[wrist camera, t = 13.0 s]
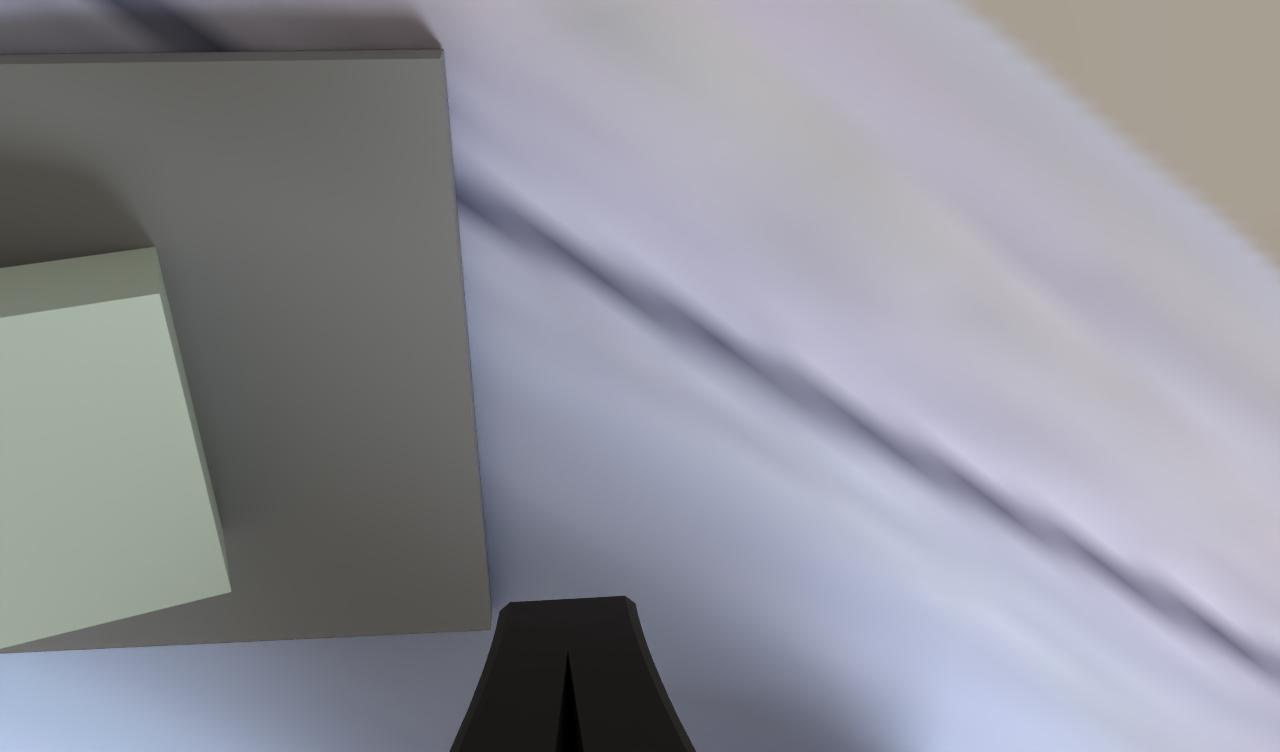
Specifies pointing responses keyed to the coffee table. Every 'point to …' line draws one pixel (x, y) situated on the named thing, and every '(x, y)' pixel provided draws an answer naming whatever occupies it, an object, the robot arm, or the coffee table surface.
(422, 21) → the coffee table surface
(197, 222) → the mat
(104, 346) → the sage domino
